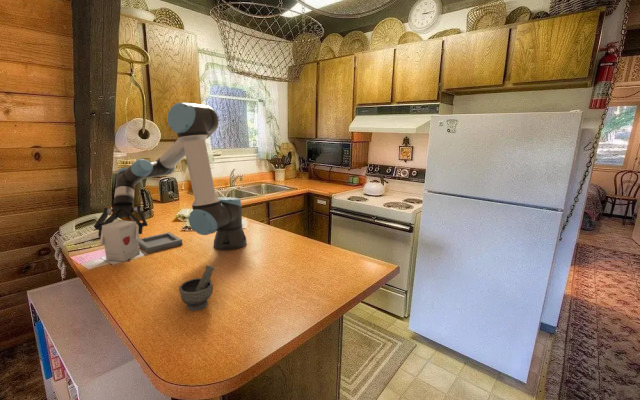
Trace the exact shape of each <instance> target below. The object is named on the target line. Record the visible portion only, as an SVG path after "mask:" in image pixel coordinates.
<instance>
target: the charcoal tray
mask: <svg viewBox="0 0 640 400" xmlns="http://www.w3.org/2000/svg"><path fill="white" fill-rule="evenodd" d="M182 245H183V239H182V238H180V237H178V236H177V235H175V234H174V233H172V232H170V231H169V232H164V233H160V234H156V235H151V236H146V237H141V238H139V248H140V249H142V250H144V252H146V253H148V254H150V253H155V252H158V251H162V250H167V249H171V248H174V247H178V246H182Z"/></svg>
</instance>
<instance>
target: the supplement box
mask: <svg viewBox="0 0 640 400" xmlns="http://www.w3.org/2000/svg"><path fill="white" fill-rule="evenodd" d="M137 226H138V225H137V224H136V222H135V221H133V220H123V219H119V220H114V221H113V222H112V223H109V224H106V225H103V226H102V231H103V238H104V245H103V246H104V252H105V259H106V260H110V261H117V262H125V261H127V260H129V259H131V258H133V257H136V256H138V255H140V254H141V252H140V246H139V242H137V241H136V227H137Z"/></svg>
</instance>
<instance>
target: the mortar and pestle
mask: <svg viewBox="0 0 640 400" xmlns="http://www.w3.org/2000/svg"><path fill="white" fill-rule="evenodd" d="M215 270H216V269H215V266H213V265H209V264H207V265H205V270H204V272H203V273H202V276H201V277H199V278H196V277H195V278H191V279H189V280H186V281H184V282H182V283H181V284H180V285H179V286H178V290H179V295H180V298H181V300H182V302H183V303H184V304H186V308H187V310H189V311H191V312H195V311H197V312H198V311H201V310H203V309H205V308H206V307H207V306H208V305H209V302H208V300H209V299H210V297H212V295H213V292H214V291H213V290H214V284H213V282H212V279H211V277H212V274H213V273H214V271H215Z"/></svg>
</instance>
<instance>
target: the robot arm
mask: <svg viewBox="0 0 640 400" xmlns="http://www.w3.org/2000/svg"><path fill="white" fill-rule="evenodd" d="M167 124H168V126H169V129H171V130H172V132H174V133H176V136H177V139H176V141H174V143H172V145H171V146H169V148H168V149H167V150H165V152H163V154H161V156H159V158H158V159H156V160H152V161H149V160H147V159H144V158H139V159H137V160H136V161H134V162H133V163H131V165H129V166H128V167H123V168H120V169H118V170H117V174H116V177H115V179H116V180H115V187H114V188H115V189H114V194H113V195H114V197H113V198H114V199H113V204H112V205H113V207H112V208H107V207H105V208H103V212H102V213H101V215H100V216H99V218H98V219H97V221H96V222H95V224H94V226H93V227H94V229H95V230H96V231H98V237H99V238H100V239H99V243H100V245H101V246H104V238H103V231H102V226H103V225H106V224H109V223H112V222H115V221H117V219H118V218H119V219H122V218H128V217H129V219H131V221H135V222H136V224H137V227H136V241H137V242H139V239H140V235H142V234H143V229H144V227H148V222H147V221H146V218H145V216H144V214H143V213H142V208H141V206H140V205H137V206H136V207H134V205H135V200H134V199H135V190H136V189H135V188H136V185H137V184H139V183H140V182H141V181H142V180H144V179H150V178H157V177H162V176H163V177H164V176H165V177H166V176H168V175H172V174H173V173H174V171H175V170H176V169H175V166H176V165H178V163H180V162H181V161H182V160H183V159H184V158H185V160H186V164H187V168H188V174H189V178H190V184H191V188H192V193H193V198H194V201H193V202H192V203H191V208H192V210H191V212H190V213H189V215H188V223H189V227H191V229H192V230H193V231H194V232H196V234H199V235H202V236H208V235H210V234H214V233H215V235H214V239H213V246H214V248H215V249H217V250H221V251H231V250H237V249H240V248H243V247H245V246H246V245H247V237H246V235H245V232H244V228H243V213H242V211H243V209H242V207H243V206H242V201H241V199H240V198H238V197H230V196H228V197H227V196H220V197H219V196H218V197H217V196H216V195H217V194H216V191H215V185H214V180H213V175H212V170H211V169H212V168H211V166H210V159H209V154H208V149H207V144H206V143H207V142H206V140H207V139H208V138H210V137H211V136H213V134H214V133H215V132H216V131H217V128H218V126H219V116H218V114H217V111H215V109H213V108H212V107H211V106H210V105H206V104H199V103H191V102H187V101H186V102H177V103H174V104H173V105H172V106H171V107H170V109H169V110H168V113H167ZM134 212H136V213H137V214H138V215H139V217H140V220H141V221H142V222H141V221H140V220H139V218H137V217H136V216H135V215H134V214H133V213H134ZM109 215H110V216H109ZM108 216H109V217H108Z"/></svg>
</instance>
